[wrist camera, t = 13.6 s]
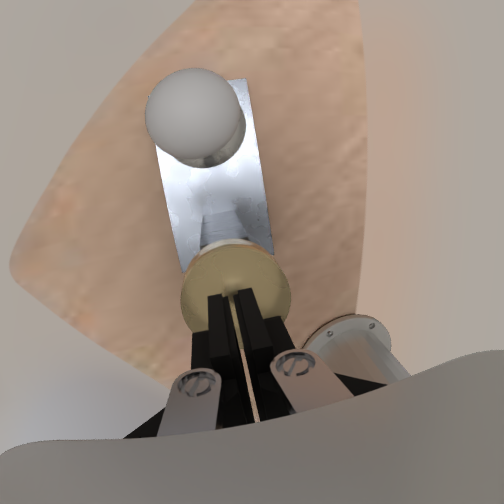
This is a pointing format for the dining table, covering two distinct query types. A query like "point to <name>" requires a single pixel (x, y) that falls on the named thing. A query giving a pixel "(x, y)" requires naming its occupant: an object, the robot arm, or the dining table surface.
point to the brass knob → (233, 282)
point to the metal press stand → (218, 191)
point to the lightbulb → (192, 113)
